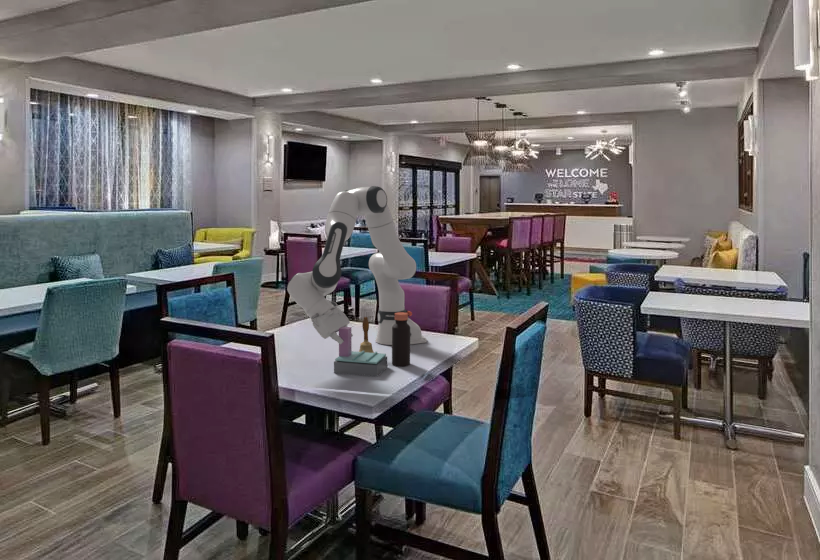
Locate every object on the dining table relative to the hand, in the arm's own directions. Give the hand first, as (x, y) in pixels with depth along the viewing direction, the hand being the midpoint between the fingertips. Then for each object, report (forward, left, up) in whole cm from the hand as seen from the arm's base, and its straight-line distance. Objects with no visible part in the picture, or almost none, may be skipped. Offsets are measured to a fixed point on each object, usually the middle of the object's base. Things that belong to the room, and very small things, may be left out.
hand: (346, 340), depth 207 cm
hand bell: (-11, -17, -12) cm, 24 cm away
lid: (-4, +3, -6) cm, 8 cm away
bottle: (-20, 0, -12) cm, 24 cm away
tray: (-4, +3, -11) cm, 13 cm away
